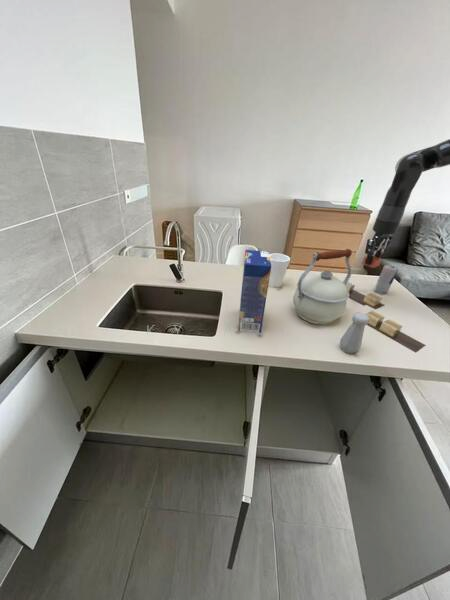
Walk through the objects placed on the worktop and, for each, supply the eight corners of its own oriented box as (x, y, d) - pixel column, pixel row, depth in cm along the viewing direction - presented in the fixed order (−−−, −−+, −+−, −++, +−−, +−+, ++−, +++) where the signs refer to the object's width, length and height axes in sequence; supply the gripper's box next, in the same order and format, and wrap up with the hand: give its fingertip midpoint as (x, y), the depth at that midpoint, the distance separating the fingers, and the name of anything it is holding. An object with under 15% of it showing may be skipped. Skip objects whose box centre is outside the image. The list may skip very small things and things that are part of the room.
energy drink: (389, 292, 109) (400, 268, 103) (383, 295, 107) (394, 270, 100) (377, 287, 113) (387, 263, 107) (371, 290, 110) (381, 266, 104)
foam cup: (262, 279, 115) (266, 252, 108) (282, 279, 115) (287, 253, 108) (265, 288, 107) (270, 261, 100) (286, 289, 107) (292, 262, 100)
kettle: (306, 334, 81) (327, 265, 68) (277, 305, 95) (289, 244, 82) (362, 320, 89) (389, 257, 76) (327, 296, 104) (345, 239, 91)
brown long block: (341, 285, 113) (344, 278, 111) (384, 306, 99) (388, 298, 97) (332, 289, 109) (334, 281, 108) (375, 311, 95) (378, 303, 93)
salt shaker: (335, 342, 78) (347, 308, 71) (353, 343, 78) (367, 309, 71) (342, 355, 73) (356, 320, 66) (361, 356, 73) (377, 321, 66)
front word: (366, 315, 92) (370, 307, 90) (424, 347, 78) (430, 337, 76) (355, 320, 89) (359, 312, 87) (414, 354, 75) (420, 345, 73)
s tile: (368, 261, 98) (370, 254, 97) (379, 266, 95) (382, 258, 94) (361, 263, 96) (364, 256, 95) (372, 268, 93) (375, 260, 91)
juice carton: (260, 333, 80) (271, 266, 68) (238, 331, 81) (244, 264, 68) (259, 312, 91) (268, 251, 78) (239, 311, 91) (245, 249, 78)
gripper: (388, 223, 80) (370, 270, 89) (409, 219, 87) (390, 263, 96) (367, 217, 86) (351, 262, 94) (388, 214, 92) (371, 257, 101)
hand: (371, 263), depth 95 cm, fingers closed on s tile, 4 cm apart
